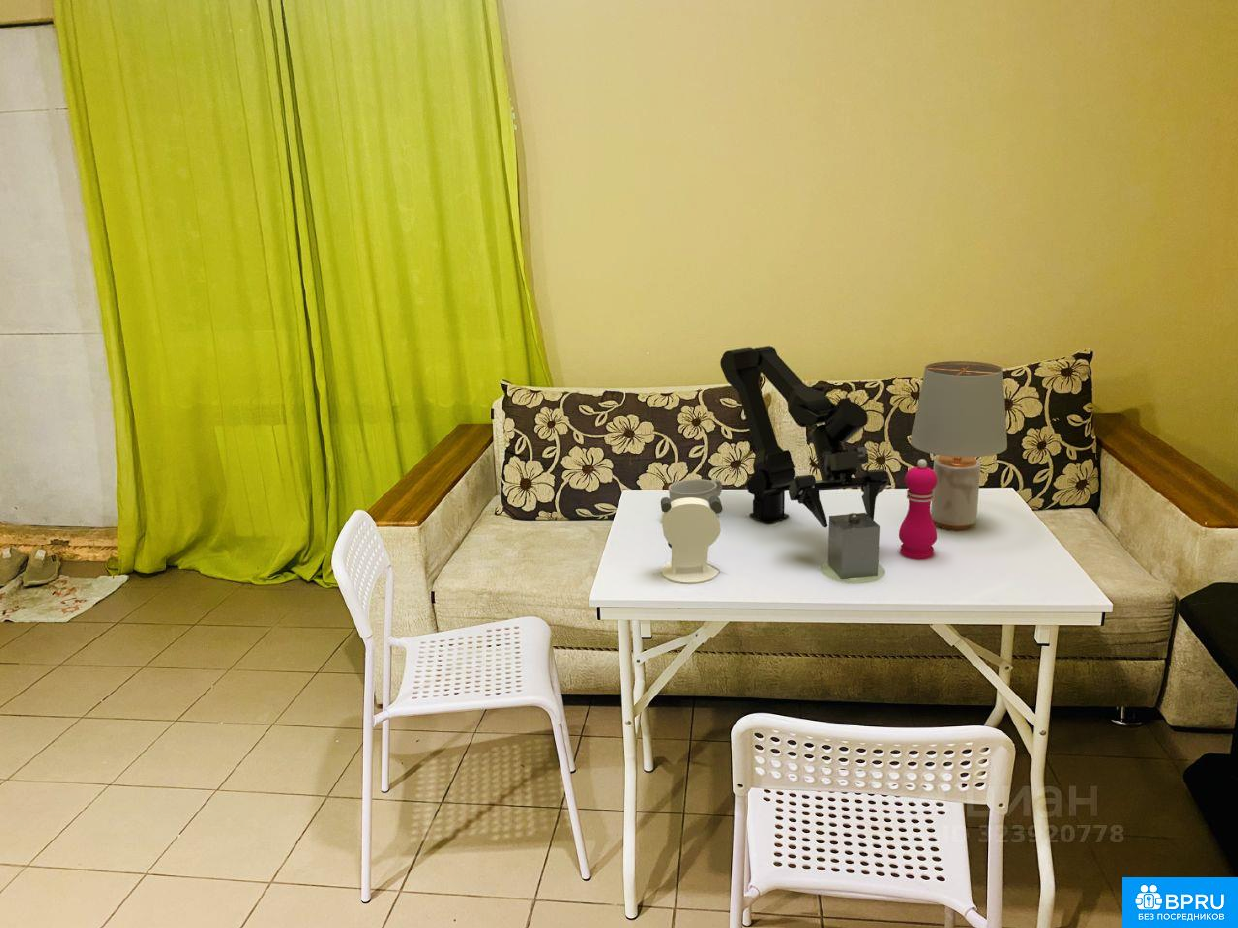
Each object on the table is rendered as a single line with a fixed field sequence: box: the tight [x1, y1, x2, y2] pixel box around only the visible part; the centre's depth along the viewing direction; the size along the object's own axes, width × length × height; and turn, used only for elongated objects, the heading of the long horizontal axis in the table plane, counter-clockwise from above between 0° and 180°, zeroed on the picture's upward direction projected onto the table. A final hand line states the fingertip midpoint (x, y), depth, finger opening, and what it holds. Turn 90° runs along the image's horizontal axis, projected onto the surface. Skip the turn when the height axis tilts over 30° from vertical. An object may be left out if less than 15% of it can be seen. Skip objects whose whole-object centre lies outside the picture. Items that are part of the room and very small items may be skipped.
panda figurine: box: [660, 495, 723, 585], centre depth 179 cm, size 12×11×15 cm
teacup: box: [668, 478, 723, 502], centre depth 209 cm, size 14×11×8 cm
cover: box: [827, 512, 881, 579], centre depth 176 cm, size 7×7×11 cm
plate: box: [819, 560, 886, 585], centre depth 178 cm, size 12×12×1 cm
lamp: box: [910, 360, 1008, 531], centre depth 194 cm, size 19×19×34 cm
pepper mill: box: [898, 459, 938, 560], centre depth 181 cm, size 7×7×20 cm
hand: (848, 524), depth 177 cm, fingers open, 9 cm apart
